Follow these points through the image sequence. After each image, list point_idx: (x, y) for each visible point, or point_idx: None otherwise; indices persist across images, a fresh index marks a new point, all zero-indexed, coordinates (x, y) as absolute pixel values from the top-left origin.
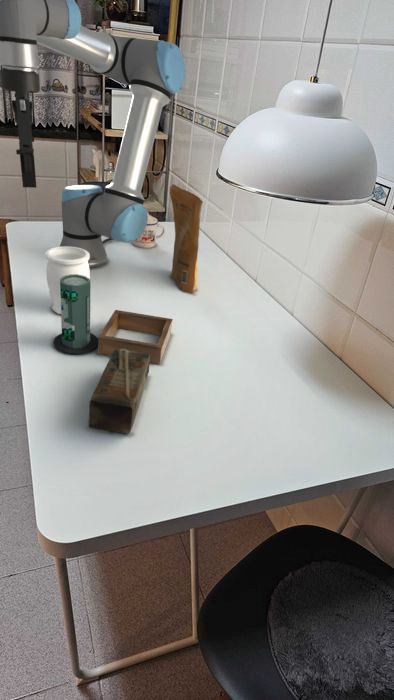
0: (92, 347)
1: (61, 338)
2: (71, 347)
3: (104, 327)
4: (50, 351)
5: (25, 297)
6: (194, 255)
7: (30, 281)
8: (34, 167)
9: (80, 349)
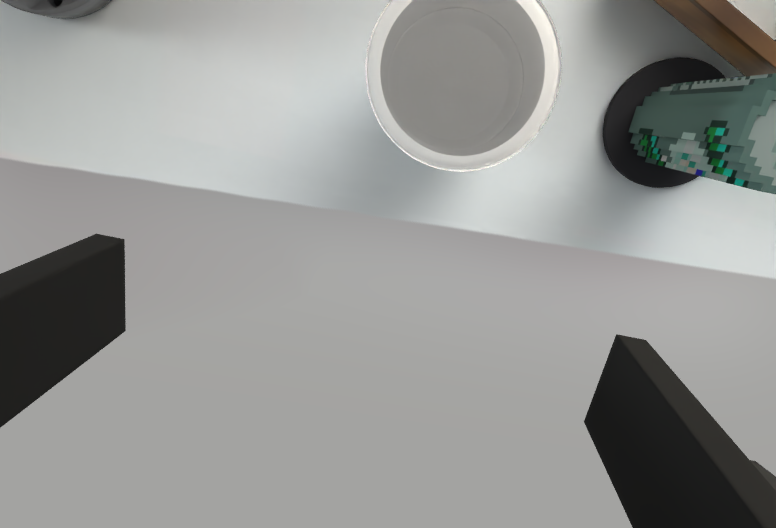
0: None
1: (636, 161)
2: None
3: (743, 38)
4: (674, 201)
5: (343, 193)
6: None
7: (231, 155)
8: (741, 453)
9: None
